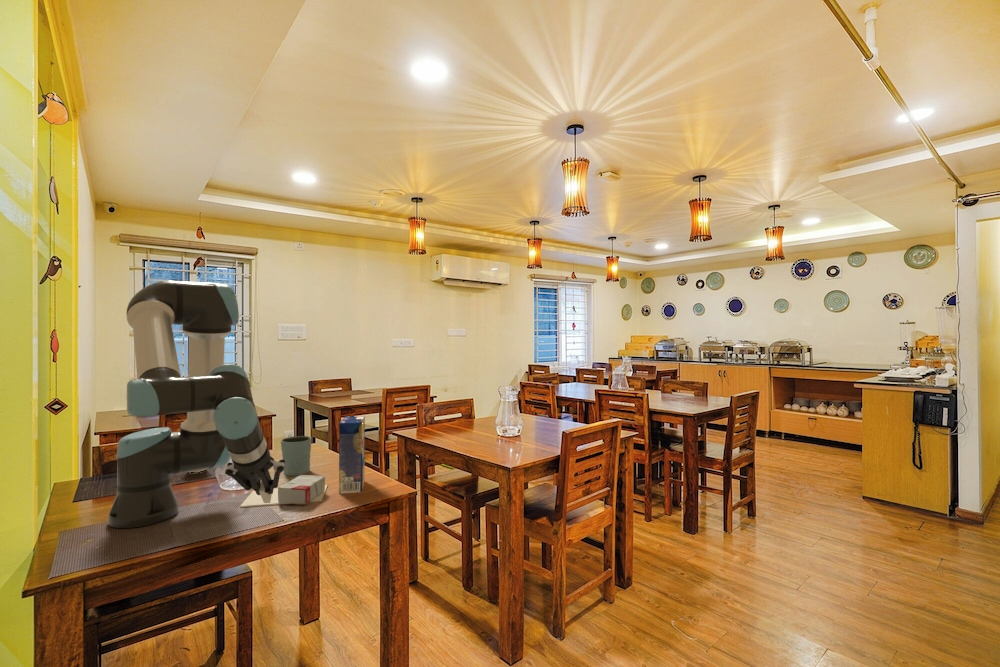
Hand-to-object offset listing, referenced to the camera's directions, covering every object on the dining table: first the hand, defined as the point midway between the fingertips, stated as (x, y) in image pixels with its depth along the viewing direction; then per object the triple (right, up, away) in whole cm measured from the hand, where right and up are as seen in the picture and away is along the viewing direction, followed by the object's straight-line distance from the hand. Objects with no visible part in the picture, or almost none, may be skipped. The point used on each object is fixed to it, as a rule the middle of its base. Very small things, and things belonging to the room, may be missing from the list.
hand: (268, 497), depth 122 cm
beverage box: (+13, -7, +29) cm, 33 cm away
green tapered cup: (-12, -7, +45) cm, 47 cm away
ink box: (0, -4, +13) cm, 14 cm away
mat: (-5, -7, +21) cm, 23 cm away
